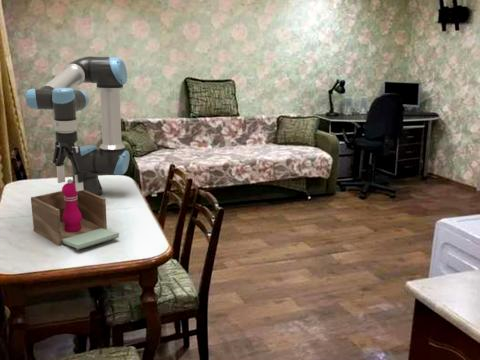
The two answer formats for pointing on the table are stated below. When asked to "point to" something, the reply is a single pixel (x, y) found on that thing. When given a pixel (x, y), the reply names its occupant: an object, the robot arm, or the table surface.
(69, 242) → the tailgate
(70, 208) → the pepper mill
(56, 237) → the crate
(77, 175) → the robot arm
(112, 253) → the table surface
